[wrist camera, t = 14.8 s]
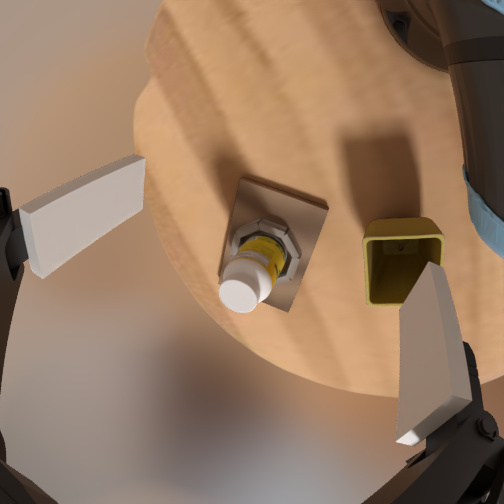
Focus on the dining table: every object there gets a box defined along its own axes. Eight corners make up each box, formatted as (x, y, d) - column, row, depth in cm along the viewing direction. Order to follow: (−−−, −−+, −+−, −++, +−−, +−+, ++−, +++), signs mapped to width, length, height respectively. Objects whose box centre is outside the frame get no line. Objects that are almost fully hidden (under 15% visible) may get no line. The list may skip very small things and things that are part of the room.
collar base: (242, 177, 42) (235, 182, 40) (329, 208, 39) (326, 215, 37) (220, 280, 51) (214, 288, 50) (289, 308, 49) (286, 318, 47)
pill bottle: (278, 276, 46) (252, 326, 37) (240, 257, 47) (206, 302, 38) (295, 243, 42) (271, 291, 33) (253, 223, 43) (219, 264, 34)
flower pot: (368, 266, 41) (365, 307, 34) (364, 206, 38) (361, 237, 30) (430, 264, 38) (439, 305, 30) (431, 202, 34) (445, 233, 27)
